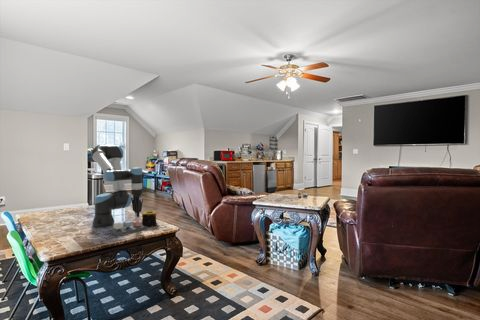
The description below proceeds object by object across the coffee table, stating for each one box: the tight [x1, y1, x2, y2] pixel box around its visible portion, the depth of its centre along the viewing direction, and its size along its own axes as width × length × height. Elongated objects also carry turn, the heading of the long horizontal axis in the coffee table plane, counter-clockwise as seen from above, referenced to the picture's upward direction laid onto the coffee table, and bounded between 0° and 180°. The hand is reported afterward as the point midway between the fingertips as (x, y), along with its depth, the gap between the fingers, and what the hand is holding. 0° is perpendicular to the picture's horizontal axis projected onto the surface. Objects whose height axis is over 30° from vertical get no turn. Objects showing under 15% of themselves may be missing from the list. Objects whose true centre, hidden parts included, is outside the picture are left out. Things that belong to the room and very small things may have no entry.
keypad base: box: [108, 225, 148, 237], centre depth 194 cm, size 12×22×2 cm, turn 140°
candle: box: [141, 210, 157, 228], centre depth 209 cm, size 10×10×10 cm
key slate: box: [122, 220, 134, 229], centre depth 194 cm, size 5×5×5 cm
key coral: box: [132, 220, 142, 227], centre depth 199 cm, size 5×5×5 cm
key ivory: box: [113, 222, 124, 231], centre depth 188 cm, size 5×5×5 cm
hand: (137, 221), depth 199 cm, fingers closed
